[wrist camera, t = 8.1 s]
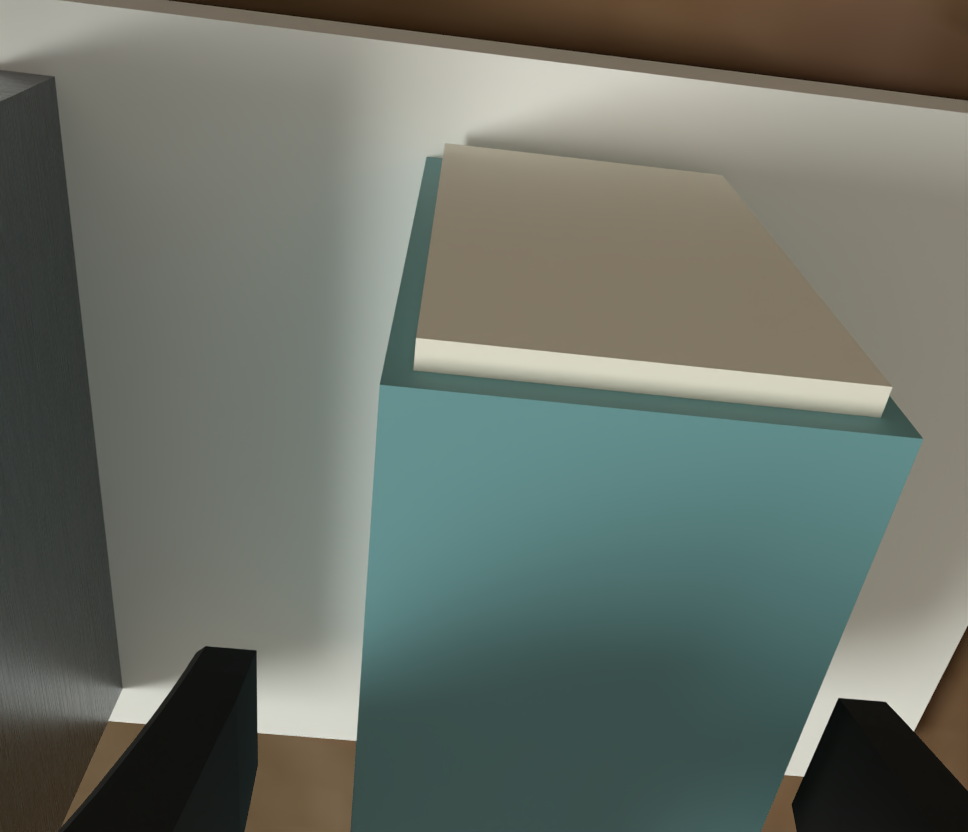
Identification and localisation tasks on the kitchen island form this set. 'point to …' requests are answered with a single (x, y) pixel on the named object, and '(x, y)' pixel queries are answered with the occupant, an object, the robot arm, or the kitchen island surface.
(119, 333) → the shelf board
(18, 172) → the bookend
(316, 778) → the kitchen island surface
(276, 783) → the kitchen island surface
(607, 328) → the small book
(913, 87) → the kitchen island surface
